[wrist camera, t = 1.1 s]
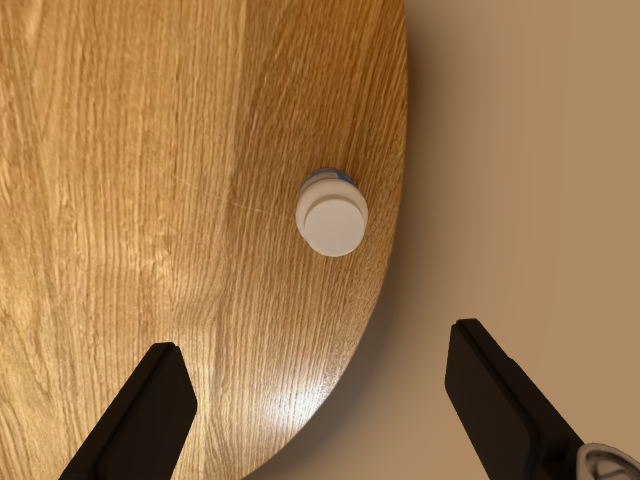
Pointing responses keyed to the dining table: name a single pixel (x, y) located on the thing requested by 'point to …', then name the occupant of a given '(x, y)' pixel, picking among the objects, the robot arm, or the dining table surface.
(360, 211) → the pill bottle
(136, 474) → the robot arm
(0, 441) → the dining table surface
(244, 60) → the dining table surface
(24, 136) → the dining table surface
